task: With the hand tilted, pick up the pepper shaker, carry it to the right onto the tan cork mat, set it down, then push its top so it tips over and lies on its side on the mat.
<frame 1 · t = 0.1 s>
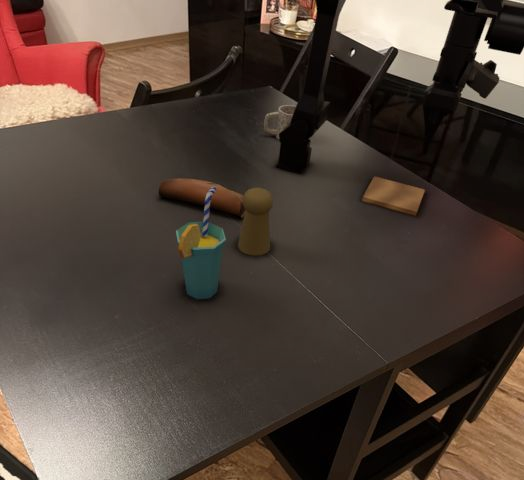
hand: (431, 131, 97), 15 cm above the table, tool pointing down, fingers open, 9 cm apart
mug: (281, 137, 125), on the table
cup: (202, 286, 80), on the table
cork mat: (393, 197, 107), on the table
pepper shaker: (253, 246, 90), on the table
sunglasses case: (206, 201, 99), on the table
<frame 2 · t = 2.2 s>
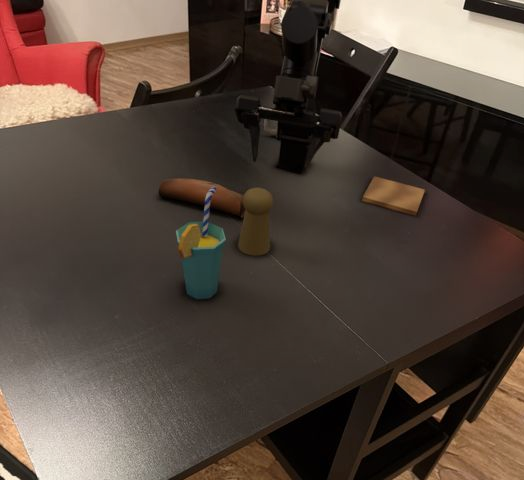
hand: (279, 165, 86), 12 cm above the table, tool tilted 45°, fingers open, 9 cm apart
nothing on the table moved.
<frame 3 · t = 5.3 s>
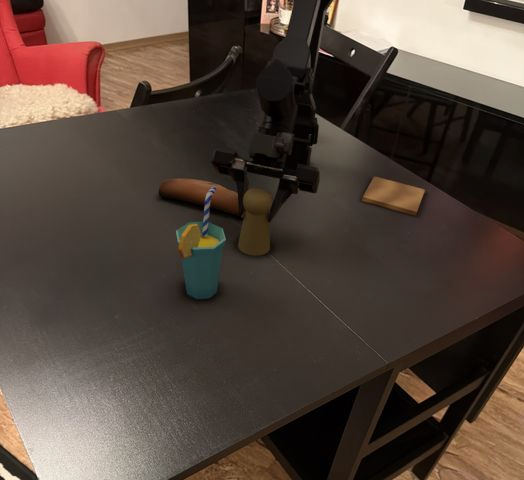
hand: (254, 218, 84), 7 cm above the table, tool tilted 45°, fingers closed on pepper shaker, 5 cm apart
pepper shaker: (254, 246, 90), on the table, touching gripper
everything else where it was.
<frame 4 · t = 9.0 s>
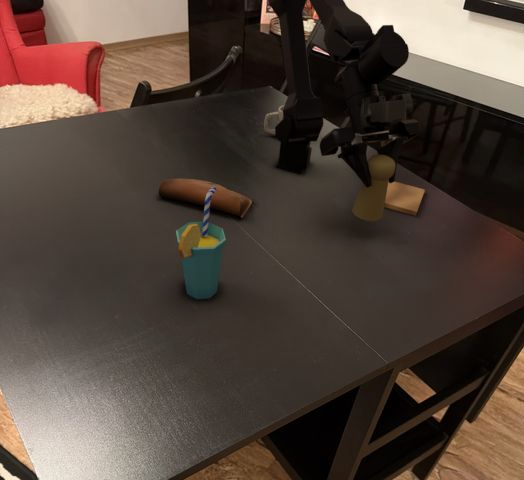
hand: (380, 184, 88), 11 cm above the table, tool tilted 45°, fingers closed on pepper shaker, 5 cm apart
pepper shaker: (367, 213, 93), point 4 cm above the table, touching gripper
everything else where it was.
when the fingers open (8 cm above the table, at t = 12.7 s): pepper shaker stays where it is, resting on cork mat.
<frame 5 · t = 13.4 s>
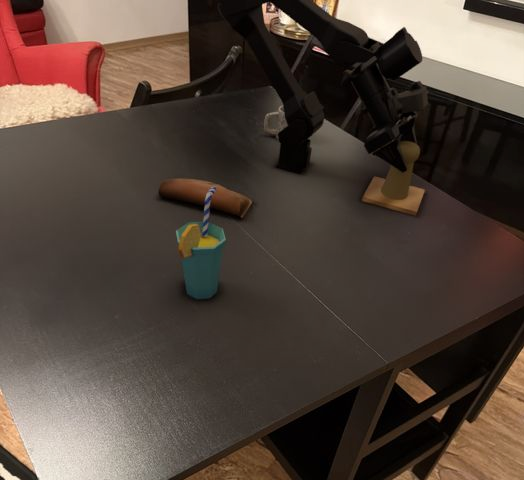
hand: (411, 163, 101), 8 cm above the table, tool tilted 45°, fingers open, 9 cm apart
pepper shaker: (394, 193, 107), point 1 cm above the table, touching cork mat
everything else where it was.
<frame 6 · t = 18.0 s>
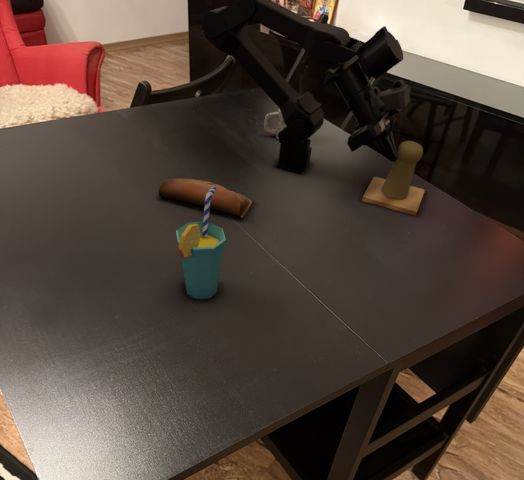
hand: (395, 160, 102), 8 cm above the table, tool tilted 45°, fingers closed
pepper shaker: (394, 192, 106), point 1 cm above the table, touching cork mat, gripper
everything else where it was.
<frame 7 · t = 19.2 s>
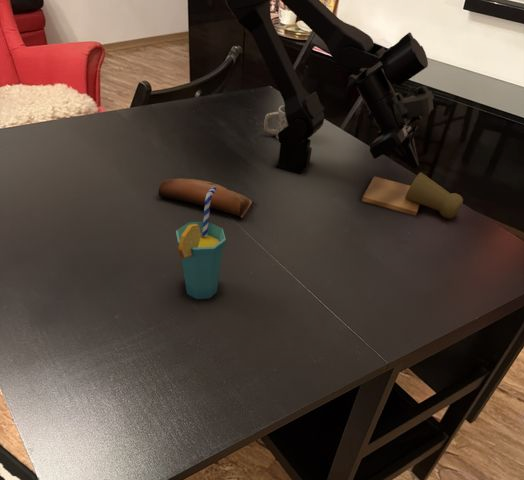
hand: (416, 167, 101), 8 cm above the table, tool tilted 45°, fingers closed
pepper shaker: (412, 185, 103), point 4 cm above the table, touching cork mat
everything else where it was.
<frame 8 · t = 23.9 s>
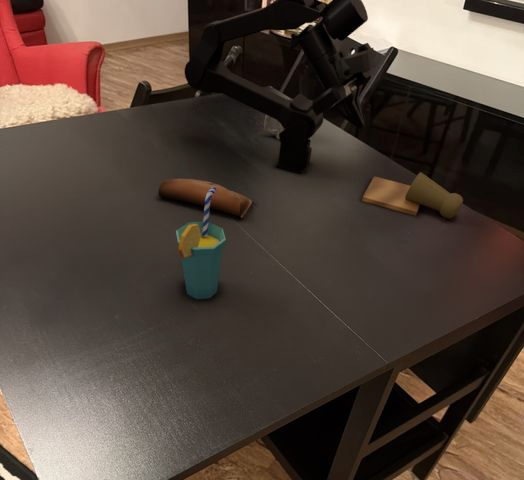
hand: (362, 127, 101), 13 cm above the table, tool tilted 45°, fingers closed
nothing on the table moved.
at the end: pepper shaker tilted 99°; pepper shaker inside the target area on the cork mat (2.2 cm from its centre), point 4.1 cm above the cork mat's base; the gripper is holding nothing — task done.
